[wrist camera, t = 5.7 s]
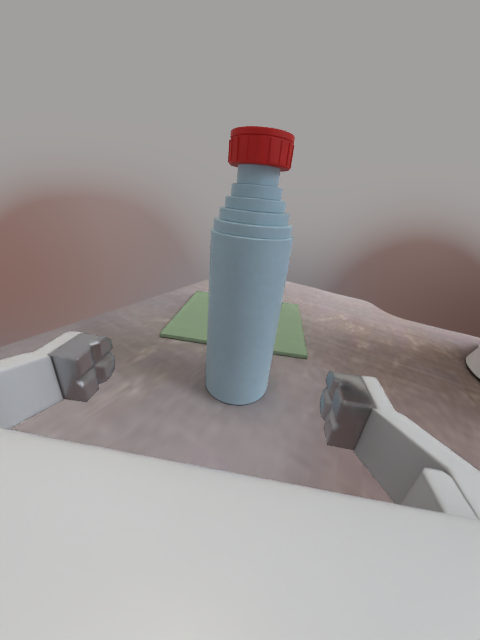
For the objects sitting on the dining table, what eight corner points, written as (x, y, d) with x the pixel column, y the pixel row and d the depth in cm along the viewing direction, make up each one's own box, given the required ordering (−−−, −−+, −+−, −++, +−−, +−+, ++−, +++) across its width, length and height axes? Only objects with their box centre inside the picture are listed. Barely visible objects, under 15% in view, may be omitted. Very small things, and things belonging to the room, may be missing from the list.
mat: (297, 307, 43) (297, 304, 43) (307, 359, 29) (307, 355, 29) (197, 293, 45) (197, 290, 45) (159, 336, 31) (159, 333, 30)
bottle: (267, 368, 27) (304, 155, 18) (265, 410, 21) (316, 136, 13) (213, 360, 27) (224, 148, 19) (197, 398, 22) (203, 127, 13)
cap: (288, 173, 18) (293, 144, 17) (291, 166, 14) (297, 129, 14) (233, 168, 18) (235, 139, 18) (222, 160, 15) (224, 123, 14)
